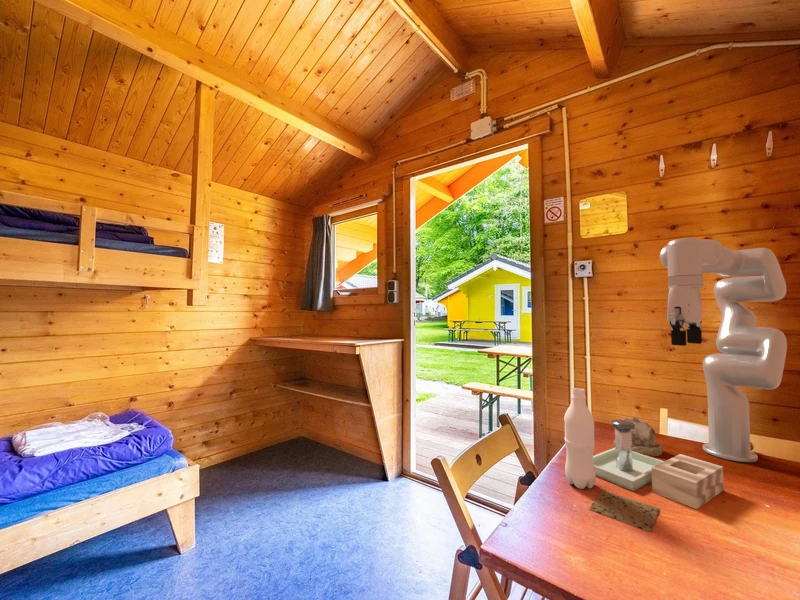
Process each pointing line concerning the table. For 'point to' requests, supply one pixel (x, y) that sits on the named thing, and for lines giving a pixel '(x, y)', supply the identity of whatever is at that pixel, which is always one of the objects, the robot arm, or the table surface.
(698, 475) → the block
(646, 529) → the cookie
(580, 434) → the water bottle
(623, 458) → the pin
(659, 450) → the ceramic model
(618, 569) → the table surface
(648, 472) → the tray
